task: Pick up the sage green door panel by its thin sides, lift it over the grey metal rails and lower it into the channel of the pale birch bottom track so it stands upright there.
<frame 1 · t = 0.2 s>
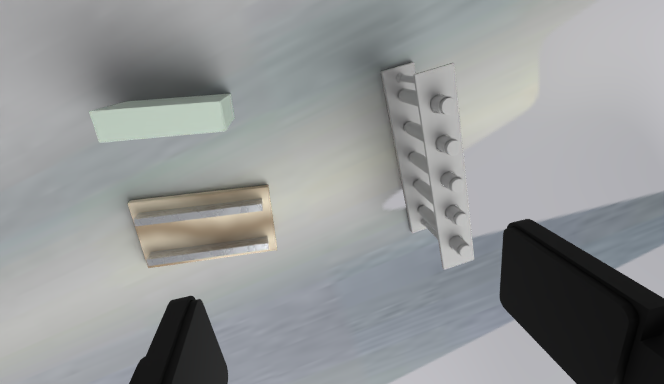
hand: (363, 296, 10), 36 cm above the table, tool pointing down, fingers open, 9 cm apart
bottom track: (208, 224, 46), on the table
test tube rack: (410, 154, 48), on the table
door panel: (182, 109, 40), on the table
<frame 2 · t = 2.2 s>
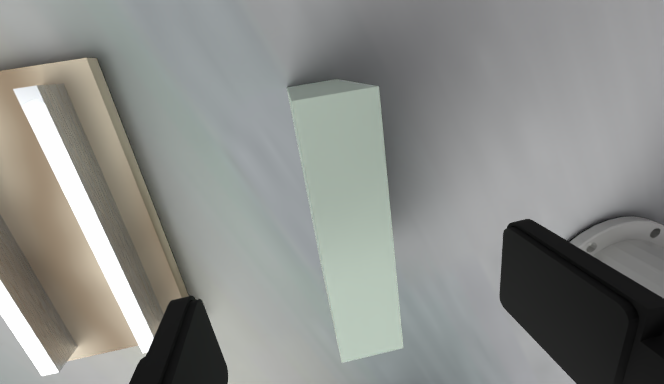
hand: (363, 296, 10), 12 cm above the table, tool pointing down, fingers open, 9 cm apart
bottom track: (72, 227, 20), on the table
door panel: (327, 177, 22), on the table
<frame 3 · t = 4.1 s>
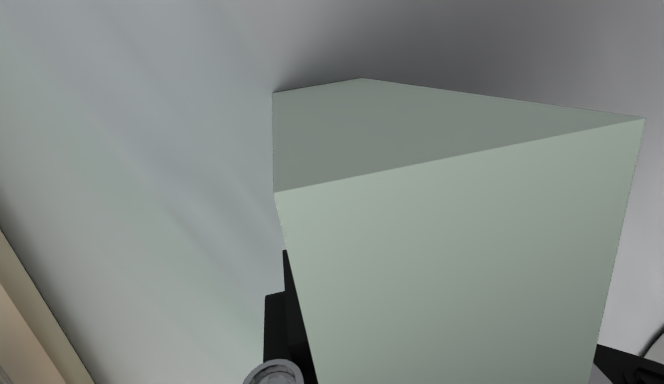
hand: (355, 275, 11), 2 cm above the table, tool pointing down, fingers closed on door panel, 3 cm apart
door panel: (342, 241, 13), on the table, touching gripper
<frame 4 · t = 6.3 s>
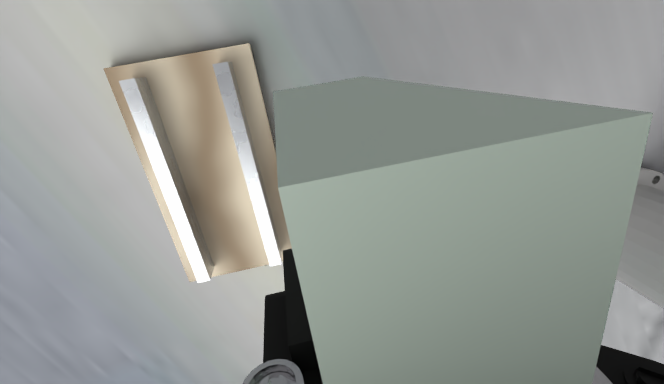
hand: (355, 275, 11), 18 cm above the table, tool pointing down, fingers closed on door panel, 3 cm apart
bottom track: (218, 172, 27), on the table
door panel: (343, 241, 13), point 16 cm above the table, touching gripper
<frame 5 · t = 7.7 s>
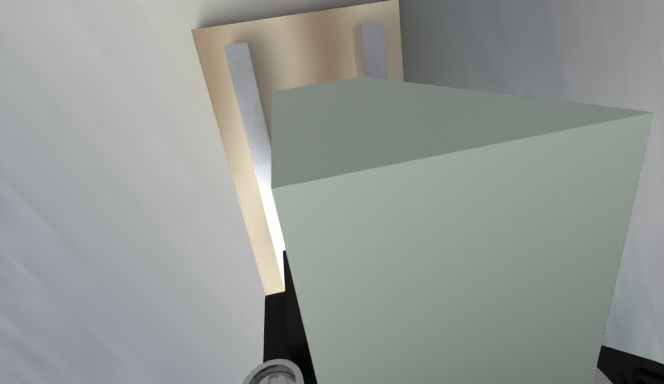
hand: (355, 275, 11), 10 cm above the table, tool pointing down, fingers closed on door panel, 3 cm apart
bottom track: (324, 182, 20), on the table
door panel: (342, 241, 13), point 7 cm above the table, touching gripper
when the fingers open (5 cm above the table, at t = 8.9 s): door panel drops 1 cm, resting on bottom track.
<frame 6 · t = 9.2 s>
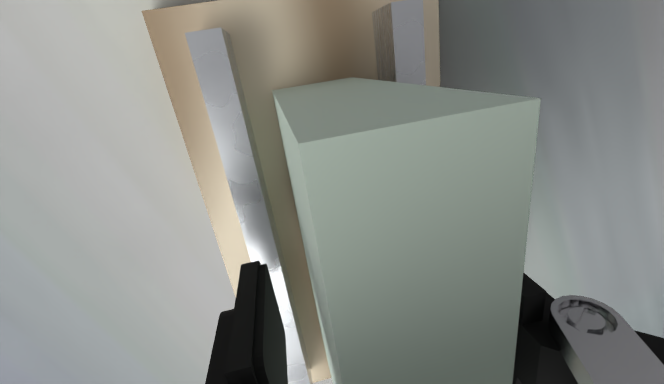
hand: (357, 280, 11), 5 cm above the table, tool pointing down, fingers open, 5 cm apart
bottom track: (331, 215, 15), on the table
door panel: (334, 226, 14), point 1 cm above the table, touching bottom track
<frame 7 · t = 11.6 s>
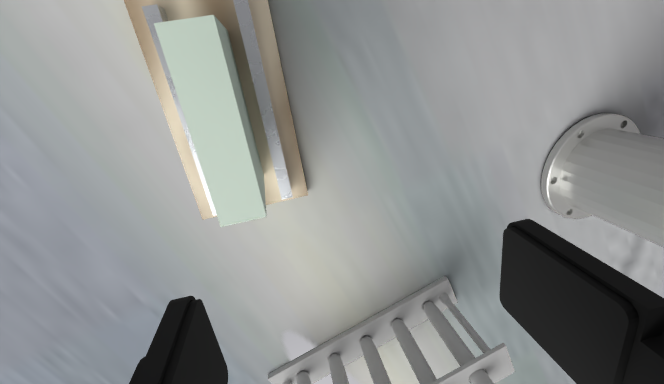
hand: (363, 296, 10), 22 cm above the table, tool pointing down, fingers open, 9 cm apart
bottom track: (230, 110, 28), on the table
test tube rack: (363, 334, 41), on the table
door panel: (229, 112, 27), point 1 cm above the table, touching bottom track
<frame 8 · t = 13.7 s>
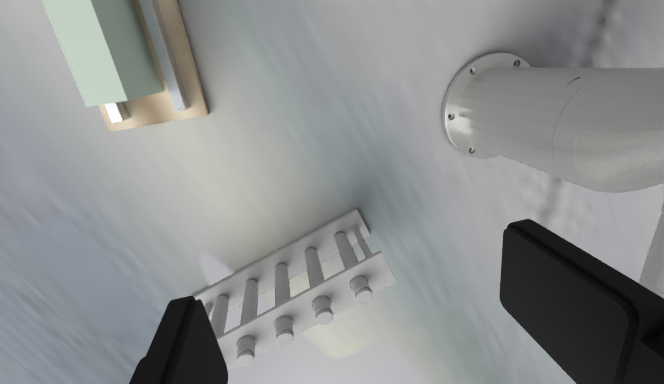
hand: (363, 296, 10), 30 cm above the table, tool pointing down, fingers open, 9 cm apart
bottom track: (130, 29, 32), on the table
test tube rack: (281, 263, 44), on the table
door panel: (125, 28, 31), point 1 cm above the table, touching bottom track
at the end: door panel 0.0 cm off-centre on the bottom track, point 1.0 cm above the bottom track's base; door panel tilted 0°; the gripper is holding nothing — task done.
